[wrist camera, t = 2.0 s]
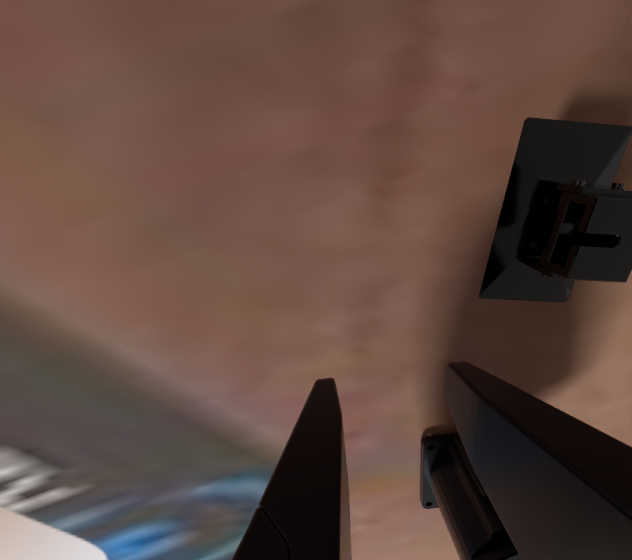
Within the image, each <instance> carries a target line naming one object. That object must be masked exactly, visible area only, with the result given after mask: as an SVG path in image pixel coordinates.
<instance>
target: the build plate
mask: <svg viewBox="0 0 632 560" xmlns="http://www.w3.org/2000/svg"><path fill="white" fill-rule="evenodd" d="M631 133H632V127H630V126H619V125H608V124H596V123H585V122H573V121H562V120H551V119H539V118H527V119H526V120H525V121H524V125H523V129H522V132H521V136H520V140H519V144H518V148H517V152H516V155H515V159H514V163H513V167H512V171H511V175H510V178H509V182H508V186H507V190H506V194H505V198H504V201H503V205H502V209H501V213H500V217H499V221H498V224H497V228H496V232H495V236H494V240H493V244H492V247H491V251H490V255H489V259H488V263H487V267H486V270H485V274H484V278H483V282H482V286H481V290H480V294H479V297H480V298H486V299H507V300H527V301H548V302H566V301H567V299H568V297H569V294H570V292H571V289H572V287H573V284H574V281H575V280H585V281H605V282H626V281H627V279H628V277H629V274H630V272H631V270H632V190H630V189H624V188H625V185H626V184H623V183H613V180H614V177H615V175H616V172H617V170H618V167H619V164H620V162H621V159H622V157H623V154H624V152H625V149H626V146H627V144H628V141H629V139H630V136H631ZM612 183H613V184H612ZM611 185H612V186H611Z"/></svg>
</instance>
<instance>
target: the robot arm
mask: <svg viewBox="0 0 632 560" xmlns="http://www.w3.org/2000/svg"><path fill="white" fill-rule="evenodd" d="M444 396H445V400H446V403H447V406H448V408H449V411H450V413H451V416H452V418H453V421H454V423H455V426H456V428H457V430H458V433H456V434H448V435H441V436H433V437H427V438H425V439H424V440H423V441H422V443H421V490H420V500H421V503H422V506H423V507H424V508H425V509H431V508H438V507H439V509H440V511H441V513H442V516H443V518H444V521H445V523H446V526H447V528H448V531H449V533H450V536H451V538H452V541H453V543H454V545H455V548H456V550H457V553H458V555H459V558H460V560H632V447H631V446H629V445H627V444H625V443H623V442H621V441H619V440H617V439H615V438H613V437H611V436H609V435H607V434H605V433H603V432H602V431H600V430H598V429H596V428H594V427H592V426H590V425H588V424H586V423H584V422H582V421H580V420H578V419H576V418H574V417H572V416H571V415H569V414H567V413H565V412H563V411H561V410H559V409H557V408H555V407H553V406H551V405H549V404H547V403H545V402H543V401H542V400H540V399H538V398H536V397H534V396H532V395H530V394H528V393H526V392H524V391H522V390H520V389H518V388H516V387H514V386H512V385H511V384H509V383H507V382H505V381H503V380H501V379H499V378H497V377H495V376H493V375H491V374H489V373H487V372H485V371H483V370H482V369H480V368H478V367H476V366H474V365H472V364H470V363H468V362H466V361H458V362H450V363H448V364H447V365H446V367H445V381H444ZM232 560H351V535H350V508H349V487H348V475H347V464H346V453H345V443H344V432H343V421H342V413H341V407H340V402H339V398H338V393H337V388H336V384H335V380H334V379H333V378H325V379H318V380H316V382H315V384H314V386H313V388H312V390H311V392H310V394H309V397H308V399H307V401H306V403H305V405H304V407H303V410H302V412H301V414H300V416H299V418H298V420H297V423H296V425H295V427H294V429H293V431H292V433H291V436H290V438H289V440H288V442H287V444H286V446H285V449H284V451H283V453H282V455H281V457H280V459H279V462H278V464H277V466H276V468H275V470H274V472H273V474H272V477H271V479H270V481H269V483H268V485H267V487H266V490H265V492H264V494H263V496H262V498H261V500H260V503H259V507H258V508H257V509H256V511H255V513H254V515H253V517H252V519H251V522H250V524H249V526H248V528H247V530H246V532H245V534H244V536H243V538H242V540H241V542H240V544H239V546H238V548H237V550H236V552H235V554H234V556H233V558H232Z"/></svg>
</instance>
